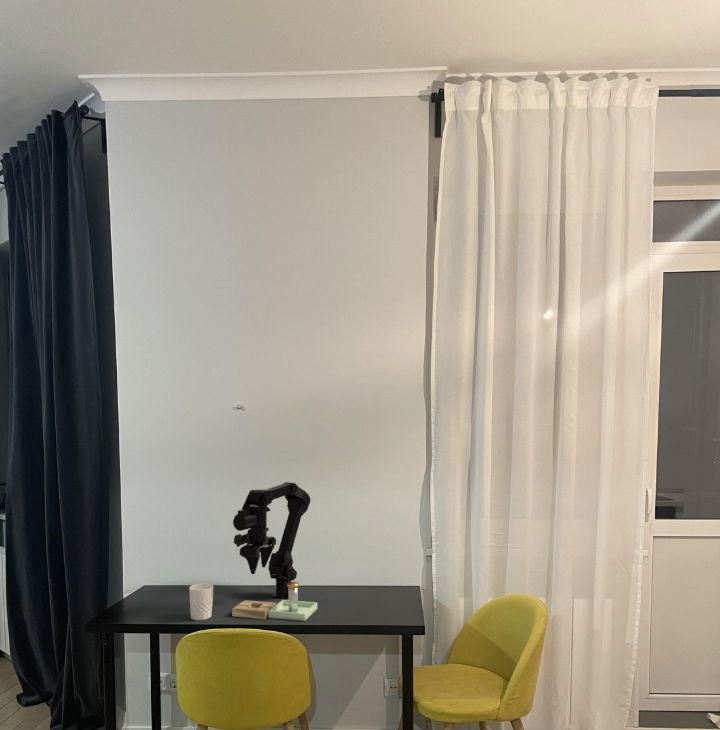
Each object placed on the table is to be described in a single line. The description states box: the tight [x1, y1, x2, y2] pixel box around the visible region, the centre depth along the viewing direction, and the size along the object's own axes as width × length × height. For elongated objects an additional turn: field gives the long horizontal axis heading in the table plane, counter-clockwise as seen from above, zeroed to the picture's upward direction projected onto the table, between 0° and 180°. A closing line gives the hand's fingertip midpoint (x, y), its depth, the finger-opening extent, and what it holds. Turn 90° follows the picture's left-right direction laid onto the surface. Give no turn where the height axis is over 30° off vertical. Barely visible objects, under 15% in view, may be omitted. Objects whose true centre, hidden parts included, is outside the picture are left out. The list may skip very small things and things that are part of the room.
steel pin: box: [287, 581, 300, 613], centre depth 200 cm, size 4×4×9 cm
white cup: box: [188, 582, 214, 621], centre depth 197 cm, size 8×8×10 cm
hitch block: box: [231, 599, 277, 620], centre depth 200 cm, size 9×12×2 cm
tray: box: [267, 599, 318, 622], centre depth 199 cm, size 12×13×2 cm
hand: (258, 570), depth 207 cm, fingers open, 9 cm apart
